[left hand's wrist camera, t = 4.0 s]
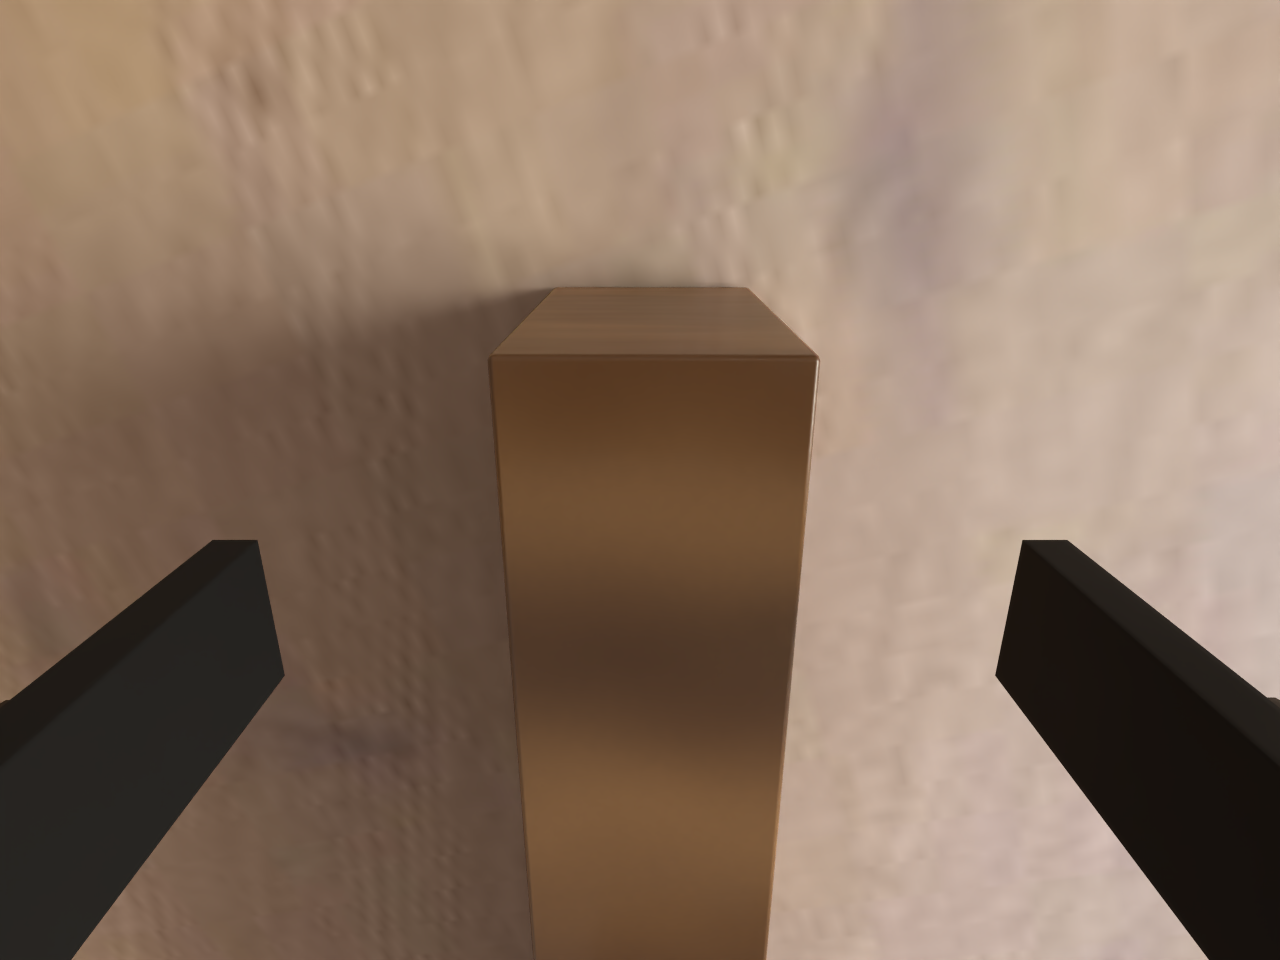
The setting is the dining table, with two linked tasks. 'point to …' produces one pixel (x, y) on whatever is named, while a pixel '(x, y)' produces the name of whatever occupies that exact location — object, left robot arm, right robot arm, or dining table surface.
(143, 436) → the dining table surface
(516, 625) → the beam
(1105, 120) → the dining table surface
